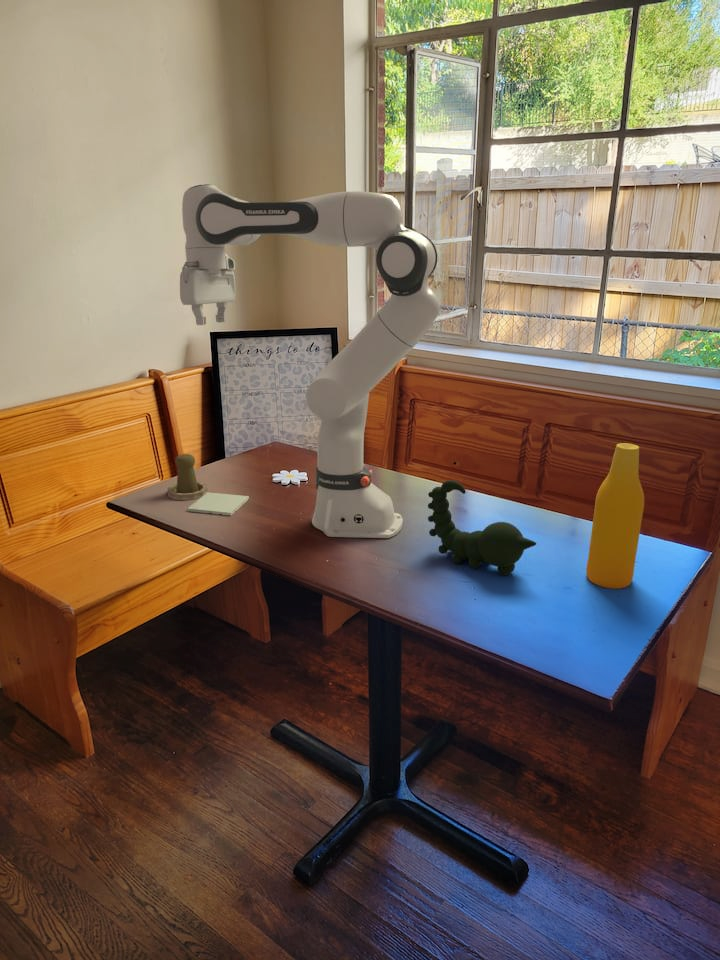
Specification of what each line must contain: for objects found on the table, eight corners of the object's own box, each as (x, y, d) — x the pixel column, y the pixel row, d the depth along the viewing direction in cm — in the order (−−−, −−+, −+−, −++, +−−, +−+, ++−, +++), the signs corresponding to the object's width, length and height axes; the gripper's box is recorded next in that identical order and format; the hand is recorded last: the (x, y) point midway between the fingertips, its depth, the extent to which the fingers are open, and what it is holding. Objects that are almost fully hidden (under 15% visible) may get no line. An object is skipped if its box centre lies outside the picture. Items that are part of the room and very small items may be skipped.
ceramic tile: (249, 499, 185) (248, 496, 185) (231, 515, 174) (230, 512, 174) (207, 495, 188) (207, 492, 188) (187, 511, 177) (187, 508, 177)
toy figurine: (422, 563, 153) (525, 589, 138) (418, 482, 148) (525, 500, 132) (445, 549, 160) (545, 573, 145) (442, 471, 155) (547, 487, 139)
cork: (190, 498, 185) (187, 459, 182) (171, 495, 187) (168, 456, 184) (203, 491, 191) (200, 453, 187) (185, 488, 193) (181, 450, 189)
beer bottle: (576, 577, 144) (593, 445, 134) (600, 564, 150) (617, 436, 140) (617, 594, 137) (638, 456, 128) (640, 580, 143) (662, 446, 133)
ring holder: (213, 488, 193) (213, 483, 192) (196, 501, 183) (196, 496, 183) (179, 485, 195) (179, 480, 195) (161, 497, 185) (160, 492, 185)
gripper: (195, 260, 147) (201, 326, 151) (238, 262, 166) (242, 320, 170) (169, 261, 149) (175, 326, 153) (215, 263, 168) (219, 321, 172)
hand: (211, 323), depth 162 cm, fingers open, 8 cm apart
